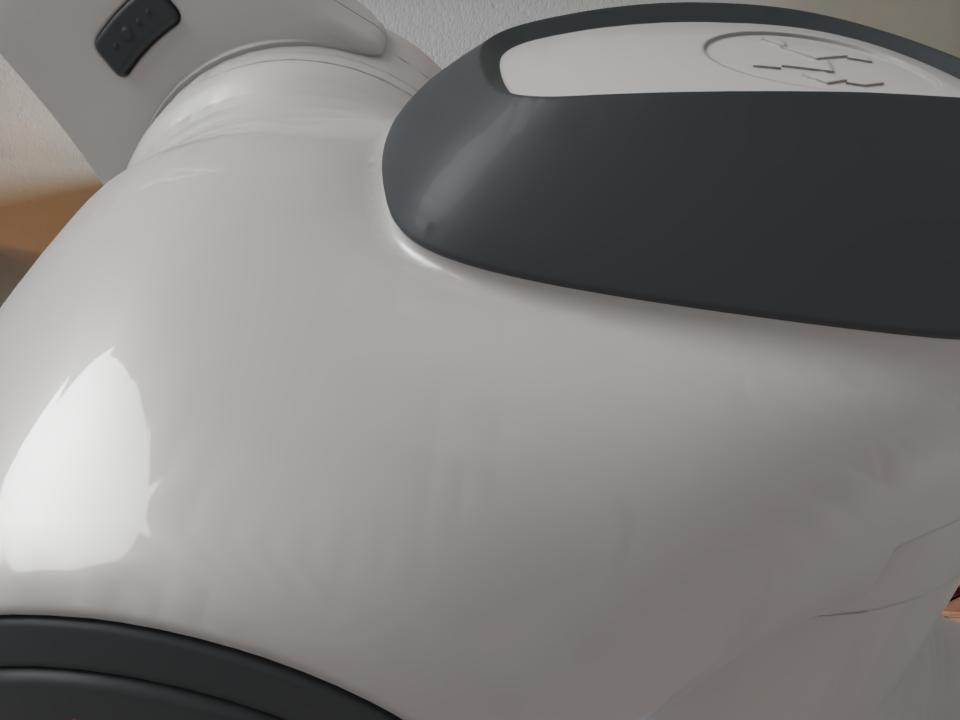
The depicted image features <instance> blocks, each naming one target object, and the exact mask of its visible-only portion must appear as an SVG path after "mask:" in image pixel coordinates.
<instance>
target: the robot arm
mask: <svg viewBox="0 0 960 720" xmlns="http://www.w3.org/2000/svg"><path fill="white" fill-rule="evenodd" d="M0 55H1V56H2V58H4V60H5V61H6V62H7V63H8V64H9V66H10V67H11V68H12V69H13V70H14V71H15V72H16V74H17V75H18V76H19V78H21V79H22V81H23V82H24V83H25V84H26V85H27V87H28V88H29V89H30V90H31V91H32V92H33V94H34V95H35V96H36V98H38V99H39V101H40V102H41V103H42V105H43V106H44V107H45V108H46V109H47V111H48V112H49V114H51V116H52V117H53V118H54V119H55V121H56V122H57V123H58V124H59V126H60V127H61V128H62V130H63V131H64V132H65V133H66V135H67V136H68V137H69V138H70V140H71V141H72V142H73V144H74V145H75V147H76V148H77V149H78V151H79V152H80V153H81V155H82V156H83V157H84V159H85V160H86V162H87V163H88V165H89V166H90V167H91V169H92V171H93V172H94V174H95V175H96V176H97V178H98V180H99V181H100V183H101V184H102V186H101V187H100V188H99V189H98V190H97V191H96V192H95V193H94V194H93V195H92V196H91V197H90V198H88V200H86V202H85V203H84V204H83V205H82V206H81V207H80V208H79V209H78V210H77V211H76V213H75V214H74V215H73V216H72V217H71V218H70V219H69V220H68V222H67V223H66V224H65V225H64V226H63V228H62V229H61V230H60V231H59V232H58V233H57V235H56V236H54V239H52V241H51V242H50V243H49V244H48V245H47V247H46V248H45V249H44V250H43V251H42V252H41V254H40V255H39V256H38V258H37V259H36V260H35V262H34V263H33V264H32V265H31V267H30V268H29V269H28V271H27V272H26V273H25V275H24V276H23V277H21V279H20V281H19V282H18V283H17V285H16V286H15V288H14V289H13V290H12V291H11V293H10V294H9V295H8V297H7V298H6V299H5V300H4V302H3V303H2V304H1V307H0V720H960V622H959V621H957V620H953V619H950V618H947V617H945V616H942V615H943V613H944V611H945V610H946V608H947V606H948V604H949V603H950V601H951V600H952V598H953V596H954V595H955V594H956V591H958V590H957V589H958V588H959V587H960V57H958V56H955V55H953V54H950V53H947V52H945V51H943V50H940V49H937V48H935V47H932V46H930V45H927V44H924V43H921V42H919V41H915V40H912V39H910V38H907V37H904V36H900V35H898V34H895V33H891V32H889V31H885V30H882V29H880V28H876V27H872V26H868V25H866V24H865V25H864V24H862V23H858V22H854V21H851V20H847V19H844V18H843V19H842V18H838V17H836V16H835V17H834V16H830V15H826V14H821V13H816V12H811V11H807V10H801V9H794V8H787V7H780V6H772V5H763V4H762V5H761V4H750V3H734V2H709V1H708V2H706V1H705V2H704V1H699V2H697V1H679V2H657V3H656V2H654V3H641V4H629V5H621V6H619V5H618V6H611V7H610V6H609V7H603V8H598V9H597V8H596V9H590V10H583V11H578V12H572V13H566V14H561V15H557V16H552V17H551V16H550V17H546V18H543V19H539V20H534V21H530V22H525V23H521V24H518V25H515V26H511V27H510V28H507V29H504V30H502V31H500V32H497V33H496V34H494V35H492V36H490V37H489V38H488V39H486V40H484V41H483V42H481V43H480V44H478V45H477V46H475V47H473V48H471V49H470V50H469V51H467V52H466V53H464V54H462V55H461V56H460V57H458V58H457V59H456V60H454V61H452V62H451V63H450V64H448V65H447V66H445V67H444V68H443V69H442V68H441V66H439V64H437V63H436V62H435V61H434V60H433V59H432V58H431V57H430V56H429V55H428V54H426V53H425V51H423V50H422V49H420V48H419V46H416V45H415V44H414V43H412V42H410V41H409V40H407V39H406V38H405V37H403V36H402V35H399V34H398V33H395V32H394V31H392V30H390V29H388V28H386V27H385V25H384V24H383V22H382V21H381V19H379V17H378V16H376V15H375V14H374V12H372V11H371V10H370V9H368V7H366V5H364V4H363V3H361V2H360V1H359V0H0Z"/></svg>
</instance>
